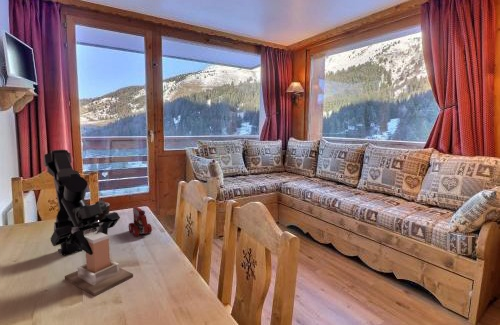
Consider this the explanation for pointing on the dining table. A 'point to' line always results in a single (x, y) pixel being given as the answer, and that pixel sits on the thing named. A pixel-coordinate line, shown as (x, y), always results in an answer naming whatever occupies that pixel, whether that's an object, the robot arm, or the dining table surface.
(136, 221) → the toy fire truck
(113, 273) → the square socket base
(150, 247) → the dining table surface
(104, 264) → the tan box white top
